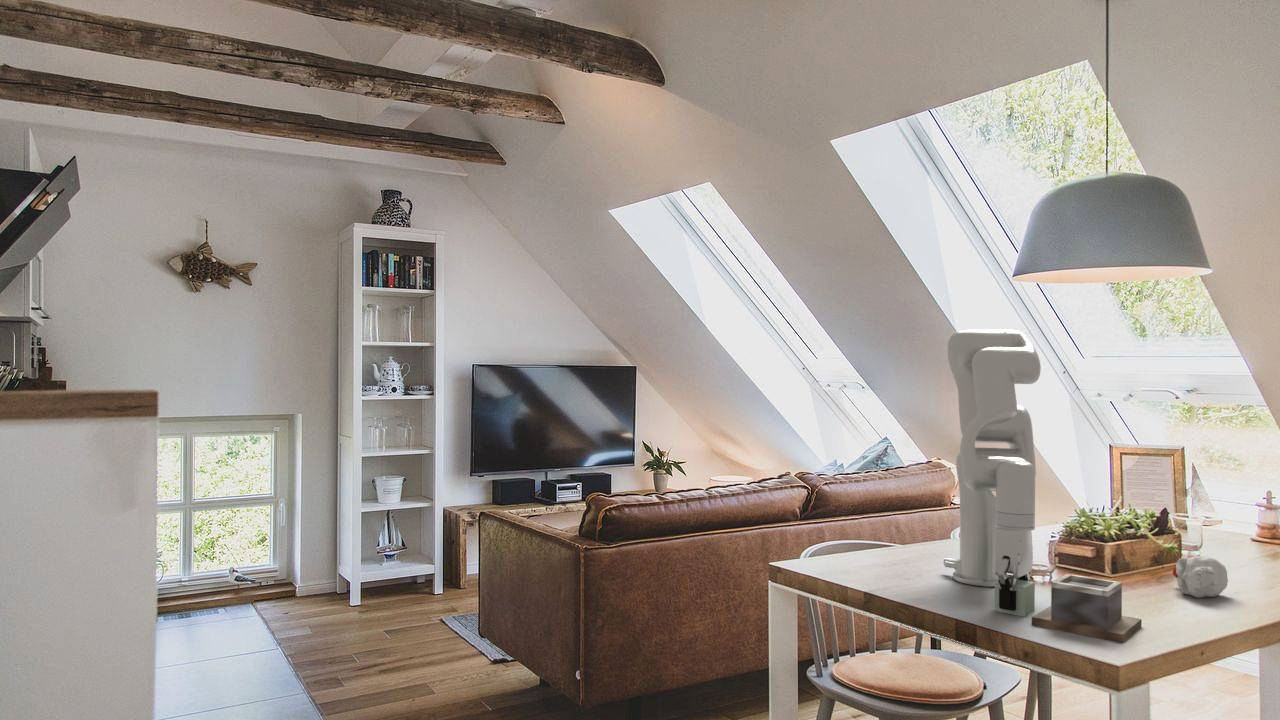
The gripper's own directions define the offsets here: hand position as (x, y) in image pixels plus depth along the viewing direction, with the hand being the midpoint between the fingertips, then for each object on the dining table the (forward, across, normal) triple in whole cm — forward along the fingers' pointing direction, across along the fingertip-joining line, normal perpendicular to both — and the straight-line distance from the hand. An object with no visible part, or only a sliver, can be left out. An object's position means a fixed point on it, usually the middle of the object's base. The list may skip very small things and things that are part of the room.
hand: (1014, 605), depth 178 cm
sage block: (+1, 0, 0) cm, 1 cm away
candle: (+1, -45, +25) cm, 52 cm away
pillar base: (+1, +1, +14) cm, 14 cm away
